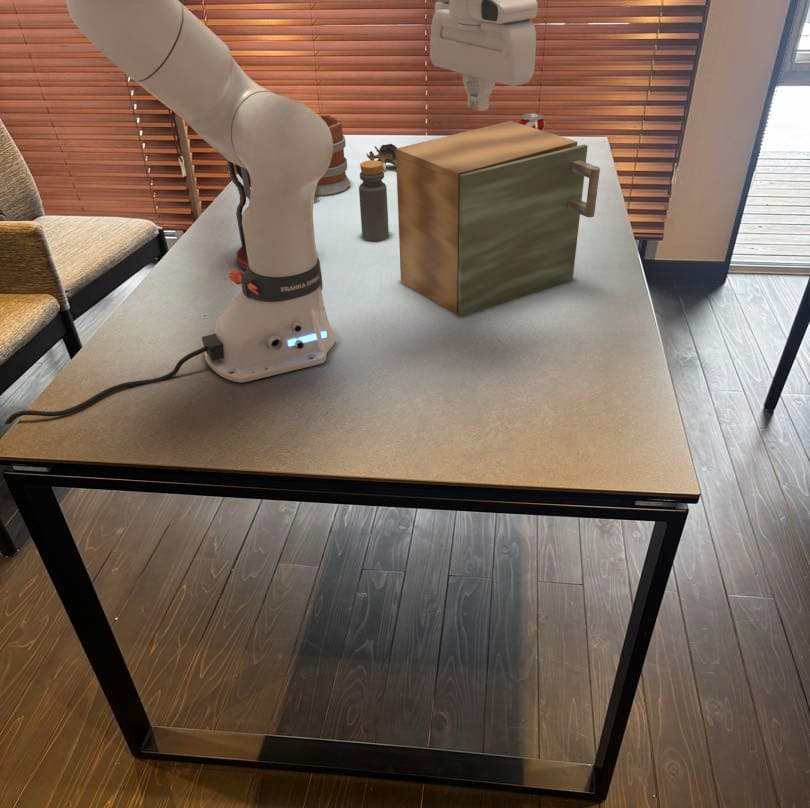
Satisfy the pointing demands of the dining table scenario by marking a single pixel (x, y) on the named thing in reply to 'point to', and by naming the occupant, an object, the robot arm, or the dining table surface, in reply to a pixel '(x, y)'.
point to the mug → (334, 162)
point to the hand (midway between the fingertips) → (478, 108)
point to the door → (521, 226)
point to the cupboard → (451, 198)
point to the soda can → (533, 121)
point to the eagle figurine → (384, 155)
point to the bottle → (373, 202)
